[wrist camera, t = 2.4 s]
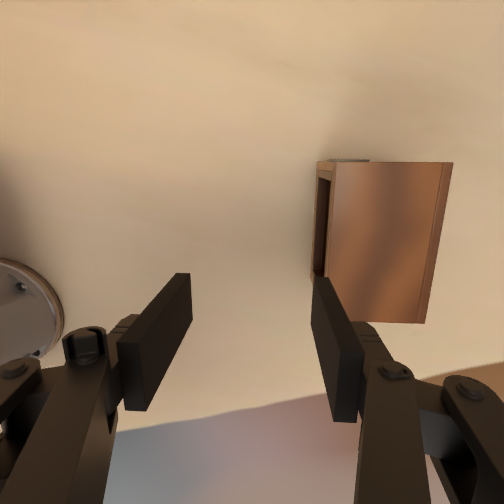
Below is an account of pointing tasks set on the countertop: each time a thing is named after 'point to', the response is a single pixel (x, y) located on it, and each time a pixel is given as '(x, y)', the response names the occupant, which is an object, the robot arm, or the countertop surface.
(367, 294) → the wooden storage crate
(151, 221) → the countertop surface
